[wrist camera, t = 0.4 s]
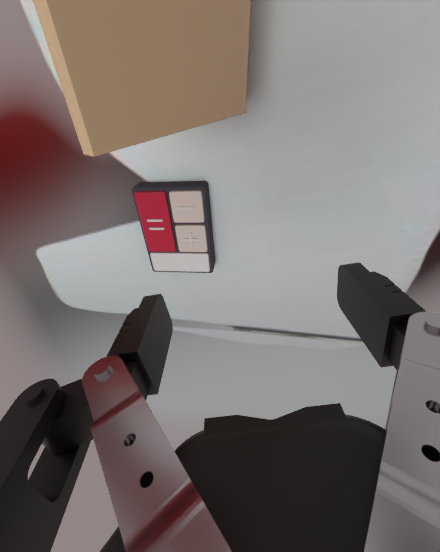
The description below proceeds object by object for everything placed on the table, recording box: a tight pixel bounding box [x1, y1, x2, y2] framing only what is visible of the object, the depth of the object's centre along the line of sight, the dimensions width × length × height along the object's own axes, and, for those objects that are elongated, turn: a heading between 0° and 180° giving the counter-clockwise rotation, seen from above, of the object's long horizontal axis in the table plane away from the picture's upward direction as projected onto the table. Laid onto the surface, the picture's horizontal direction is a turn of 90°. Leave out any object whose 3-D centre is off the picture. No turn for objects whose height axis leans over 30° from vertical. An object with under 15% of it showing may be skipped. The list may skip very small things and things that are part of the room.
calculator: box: [132, 181, 215, 273], centre depth 42 cm, size 11×4×15 cm
